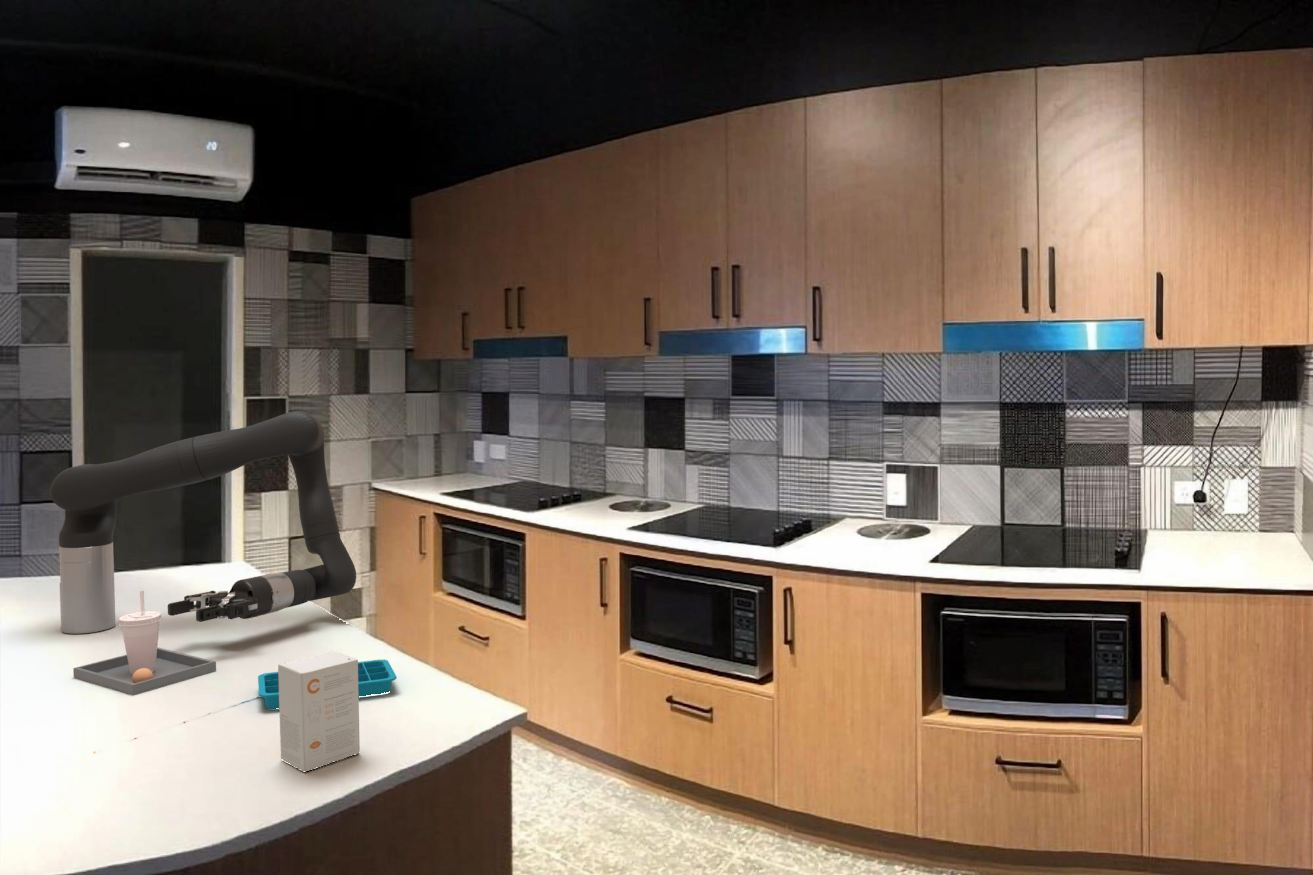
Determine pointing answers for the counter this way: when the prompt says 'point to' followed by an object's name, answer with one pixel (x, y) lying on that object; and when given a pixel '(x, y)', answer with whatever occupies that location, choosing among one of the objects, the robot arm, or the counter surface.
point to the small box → (318, 709)
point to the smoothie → (141, 637)
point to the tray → (166, 672)
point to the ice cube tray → (370, 681)
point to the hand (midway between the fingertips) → (182, 613)
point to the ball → (142, 675)
